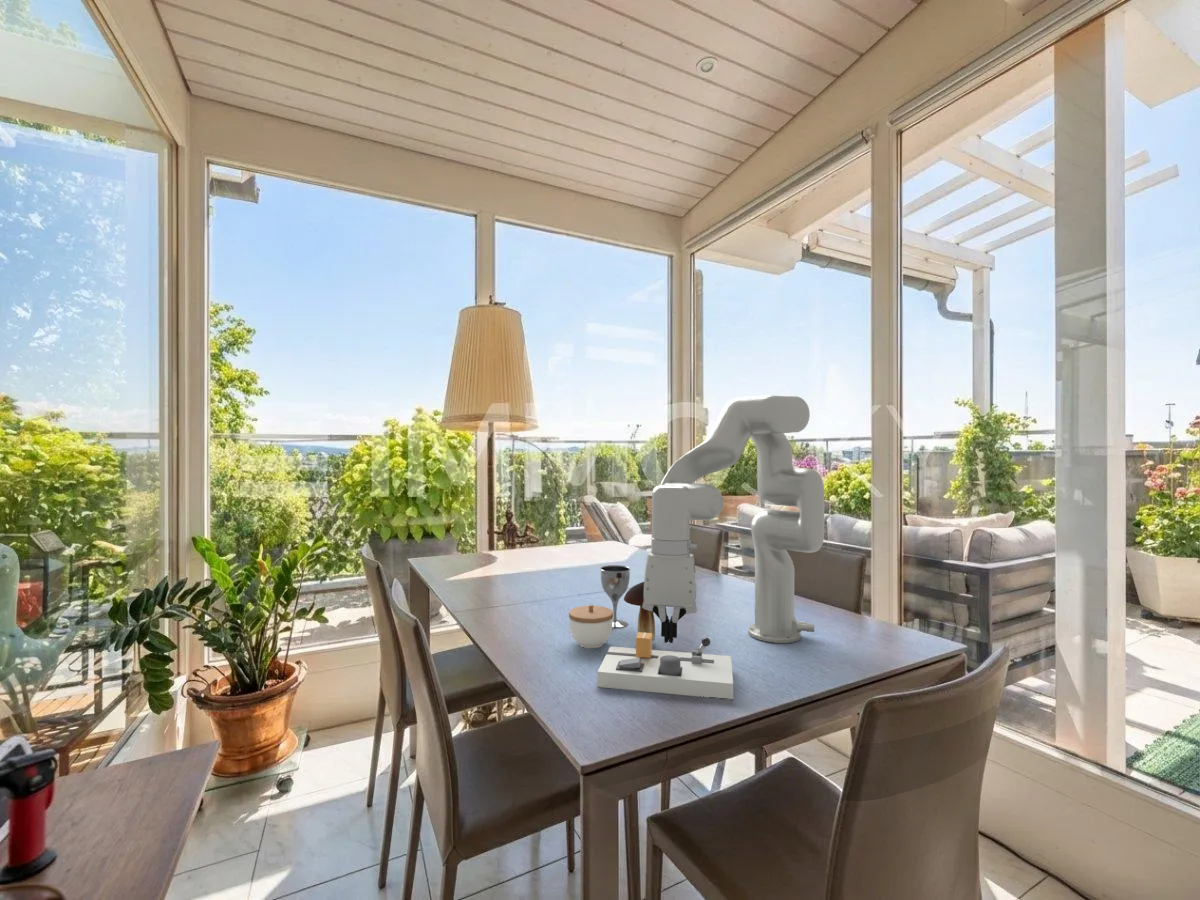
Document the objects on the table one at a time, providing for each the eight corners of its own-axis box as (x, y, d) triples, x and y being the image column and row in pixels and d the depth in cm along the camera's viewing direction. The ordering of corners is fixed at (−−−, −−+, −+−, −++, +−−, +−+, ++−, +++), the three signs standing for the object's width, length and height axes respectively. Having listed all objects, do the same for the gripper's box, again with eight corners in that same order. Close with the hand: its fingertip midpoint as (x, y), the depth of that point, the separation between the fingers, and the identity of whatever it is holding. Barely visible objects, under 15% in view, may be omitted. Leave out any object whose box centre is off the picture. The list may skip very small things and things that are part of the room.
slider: (652, 651, 116) (652, 632, 116) (650, 658, 112) (650, 638, 113) (638, 650, 117) (638, 631, 117) (635, 656, 113) (636, 637, 113)
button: (681, 675, 109) (681, 656, 109) (679, 683, 105) (679, 663, 105) (661, 673, 109) (661, 654, 109) (659, 681, 105) (659, 662, 105)
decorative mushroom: (638, 655, 123) (638, 589, 123) (615, 640, 133) (615, 579, 133) (678, 647, 128) (678, 584, 128) (652, 633, 138) (653, 574, 138)
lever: (700, 658, 113) (712, 639, 113) (699, 662, 111) (712, 642, 111) (692, 653, 113) (704, 634, 113) (692, 657, 112) (704, 637, 111)
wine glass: (630, 629, 141) (630, 571, 141) (599, 628, 141) (600, 571, 141) (629, 619, 149) (629, 565, 149) (600, 619, 149) (600, 565, 149)
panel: (730, 670, 115) (730, 648, 115) (733, 699, 101) (733, 675, 101) (610, 660, 120) (610, 639, 120) (597, 686, 106) (597, 663, 106)
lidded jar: (560, 641, 132) (560, 603, 132) (596, 633, 138) (596, 596, 138) (584, 655, 123) (584, 614, 123) (622, 646, 129) (622, 606, 129)
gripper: (709, 546, 109) (707, 637, 109) (635, 542, 112) (634, 631, 112) (708, 552, 102) (707, 650, 101) (630, 548, 105) (628, 643, 105)
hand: (669, 640), depth 107 cm, fingers closed
